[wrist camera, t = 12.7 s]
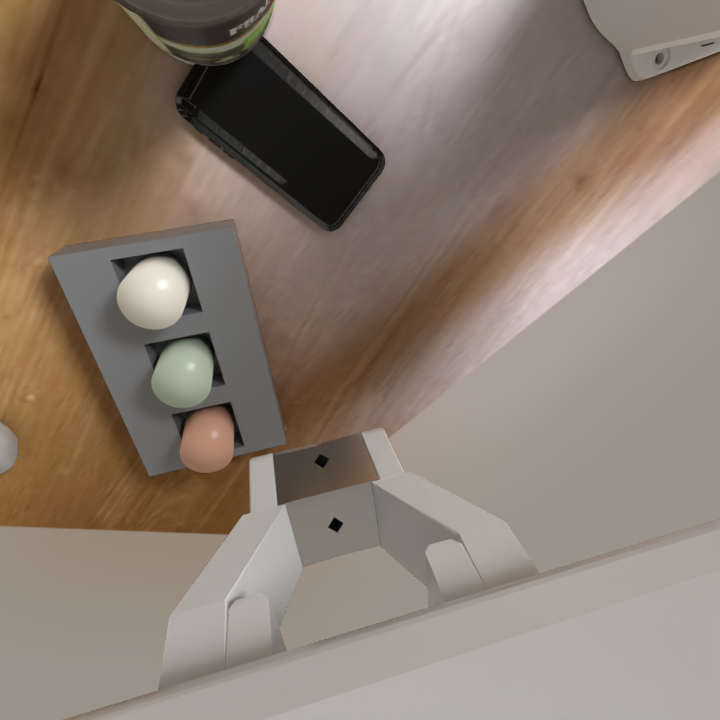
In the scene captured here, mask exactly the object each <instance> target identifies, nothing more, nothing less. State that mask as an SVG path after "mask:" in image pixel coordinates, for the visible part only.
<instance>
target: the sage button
mask: <svg viewBox="0 0 720 720" xmlns="http://www.w3.org/2000/svg"><path fill="white" fill-rule="evenodd" d="M214 362H215V353H214V349H213V347H212V346H211V344H210V343H209V342H208V341H207V340H206V339H205V338H203V337H201V336H199V335H191V336H186V337H181V338H176V339H170V340H168V341H167V342H166V343H165V345H164V346H163V349H162V352H161V354H160V357H159V360H158V362H157V365H156V368H155V370H154V373H153V376H152V380H151V385H152V389H153V392H154V394H155V395H156V396H157V398H158V399H159V400H161V401H162V402H163V403H165V404H167V405H169V406H172V407H177V408H188V407H193V406H196V405H198V404H200V403H201V402H203V401H204V400H205V399H206V398H207V396H208V395H209V393H210V391H211V385H212V377H213V370H214Z"/></svg>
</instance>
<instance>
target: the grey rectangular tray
mask: <svg viewBox="0 0 720 720" xmlns="http://www.w3.org/2000/svg"><path fill="white" fill-rule="evenodd" d="M153 253H165V254H169V255H171V256H174V257H176V258H177V259H179V260H180V261H181V262H182V263H183V264H184V265H185V266H186V267H187V269H188V271H189V273H190V275H191V280H192V286H191V290H190V293H189V296H188V299H187V302H186V305H185V308H184V311H183V314H182V315H181V317H180V318H179V320H178V321H177V322H176V323H174V324H173V325H171V326H169V327H167V328H164V329H158V330H152V329H145V328H142V327H139V326H137V325H135V324H133V323H132V322H131V321H129V320H128V319H127V318H126V317H125V316H124V315H123V313H122V312H121V310H120V308H119V306H118V303H117V290H118V287H119V285H120V283H121V282H122V281H123V279H124V278H125V277H126V276H127V274H128V273H129V272H130V271H131V270H132V268H133V267H134V266H135V265H136V263H137V262H138V261H139V260H140V259H141V258H143V257H144V256H146V255H149V254H153ZM48 259H49V261H50V263H51V266H52V268H53V270H54V272H55V274H56V276H57V278H58V281H59V283H60V285H61V287H62V289H63V291H64V294H65V296H66V298H67V300H68V302H69V304H70V306H71V309H72V311H73V313H74V315H75V317H76V319H77V322H78V324H79V326H80V328H81V330H82V332H83V334H84V337H85V339H86V341H87V343H88V345H89V347H90V350H91V352H92V354H93V356H94V358H95V360H96V362H97V365H98V367H99V369H100V371H101V373H102V375H103V378H104V380H105V382H106V384H107V386H108V388H109V390H110V393H111V395H112V397H113V399H114V401H115V403H116V406H117V408H118V410H119V412H120V414H121V416H122V418H123V421H124V423H125V425H126V427H127V429H128V431H129V434H130V436H131V438H132V440H133V442H134V444H135V446H136V449H137V451H138V453H139V455H140V457H141V459H142V462H143V464H144V466H145V468H146V470H147V472H148V474H149V477H150V476H154V475H158V474H163V473H167V472H171V471H175V470H179V469H184V468H188V467H187V466H185V465H184V463H183V462H182V460H181V458H180V447H181V442H182V437H183V432H184V427H185V422H186V417H187V414H188V412H189V411H191V410H195V409H200V408H204V407H209V406H213V405H218V404H222V403H224V404H226V405H227V406H228V407H229V408H230V409H231V410H232V411H233V414H234V417H235V424H234V453H233V457H234V456H238V455H242V454H247V453H251V452H255V451H259V450H263V449H268V448H272V447H276V446H280V445H284V444H287V443H286V435H285V428H284V422H283V418H282V414H281V410H280V406H279V402H278V398H277V393H276V389H275V385H274V381H273V377H272V373H271V369H270V365H269V361H268V357H267V353H266V349H265V345H264V341H263V337H262V333H261V329H260V325H259V321H258V317H257V312H256V308H255V304H254V300H253V296H252V292H251V288H250V284H249V280H248V276H247V272H246V268H245V264H244V260H243V256H242V252H241V248H240V244H239V240H238V236H237V231H236V227H235V223H234V219H232V220H225V221H219V222H213V223H207V224H200V225H194V226H188V227H182V228H175V229H169V230H163V231H157V232H150V233H144V234H138V235H132V236H125V237H119V238H113V239H107V240H101V241H94V242H88V243H82V244H76V245H69V246H65V247H63V248H61V249H60V250H58V251H57V252H55V253H54V254H52V255H51V256H49V257H48ZM191 335H199V336H201V337H203V338H205V339H206V340H207V341H208V342H209V343H210V344H211V346H212V347H213V349H214V353H215V362H214V370H213V377H212V385H211V391H210V393H209V395H208V396H207V398H206V399H205V400H204V401H203V402H201V403H200V404H198V405H196V406H193V407H188V408H177V407H172V406H169V405H167V404H165V403H163V402H162V401H161V400H159V399H158V398H157V396H156V395H155V394H154V392H153V389H152V385H151V380H152V376H153V373H154V370H155V368H156V365H157V362H158V360H159V357H160V354H161V352H162V349H163V346H164V345H165V343H166V342H167V341H168V340H170V339H176V338H181V337H186V336H191Z"/></svg>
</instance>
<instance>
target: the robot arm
mask: <svg viewBox="0 0 720 720" xmlns="http://www.w3.org/2000/svg"><path fill="white" fill-rule="evenodd" d="M584 3H585V6H586V9H587V11H588V14H589V16H590V18H591V20H592V22H593V23H594V25H595V26H596V28H597V29H598V30H599V32H600V33H601V34H602V35H603V36H604V37H605V38H606V39H607V40H608V41H609V42H611V43H612V44H613V45H614V46H615V47H616V49H617V50H618V51H619V53H620V56H621V59H622V62H623V64H624V67H625V70H626V72H627V74H628V76H629V77H630V78H631V79H632V80H633V81H641V80H645V79H648V78H651V77H654V76H656V75H659V74H662V73H664V72H667V71H669V70H672V69H675V68H677V67H680V66H683V65H685V64H688V63H690V62H693V61H696V60H698V59H701V58H704V57H706V56H709V55H711V54H714V53H717V52H719V51H720V0H584ZM656 56H657V61H656V63H655V58H656ZM249 505H250V513H249V514H245V515H242V517H241V518H240V519H239V521H238V522H237V524H236V525H235V526H234V528H233V529H232V531H231V532H230V533H229V535H228V536H227V538H226V539H225V540H224V542H223V543H222V545H221V546H220V547H219V549H218V550H217V552H216V553H215V554H214V556H213V557H212V558H211V560H210V561H209V563H208V564H207V565H206V567H205V568H204V569H203V571H202V572H201V574H200V575H199V577H198V578H197V579H196V581H195V582H194V583H193V585H192V586H191V587H190V589H189V590H188V592H187V593H186V594H185V596H184V597H183V599H182V600H181V602H180V603H179V604H178V606H177V607H176V608H175V610H174V611H173V613H172V614H171V615H170V618H169V625H168V631H167V637H166V643H165V651H164V656H163V662H162V669H161V675H160V682H159V688H158V691H155V692H152V693H148V694H145V695H142V696H139V697H135V698H132V699H129V700H126V701H122V702H119V703H116V704H113V705H109V706H106V707H103V708H99V709H96V710H93V711H90V712H87V713H84V714H80V715H77V716H73V717H70V718H67V719H64V720H720V518H719V519H716V520H713V521H710V522H706V523H703V524H700V525H696V526H693V527H690V528H686V529H684V530H680V531H677V532H673V533H670V534H667V535H664V536H660V537H657V538H654V539H651V540H647V541H644V542H641V543H638V544H634V545H631V546H628V547H624V548H621V549H618V550H615V551H611V552H608V553H605V554H602V555H598V556H595V557H592V558H589V559H585V560H582V561H579V562H576V563H572V564H569V565H566V566H562V567H559V568H556V569H553V570H549V571H546V572H543V573H539V571H538V570H537V568H536V567H535V565H534V564H533V562H532V561H531V559H530V558H529V556H528V555H527V554H526V552H525V550H524V549H523V547H522V546H521V544H520V543H519V541H518V540H517V539H516V537H515V535H514V534H513V532H512V531H511V529H510V528H509V526H508V525H507V523H506V522H505V521H503V520H501V519H499V518H497V517H495V516H494V515H492V514H490V513H488V512H486V511H484V510H482V509H480V508H478V507H476V506H475V505H473V504H471V503H469V502H467V501H465V500H463V499H462V498H460V497H458V496H456V495H454V494H452V493H450V492H448V491H446V490H445V489H443V488H441V487H438V486H437V485H435V484H433V483H431V482H429V481H427V480H426V479H424V478H422V477H420V476H418V475H416V474H414V473H412V472H408V473H404V471H403V469H402V467H401V464H400V462H399V460H398V458H397V456H396V454H395V452H394V450H393V448H392V445H391V443H390V441H389V439H388V437H387V435H386V433H385V431H384V429H383V428H382V427H379V428H375V429H371V430H367V431H364V432H360V433H359V434H355V435H350V436H346V437H342V438H338V439H334V440H330V441H326V442H322V443H317V444H312V445H307V446H303V447H298V448H293V449H289V450H284V451H280V452H275V453H274V454H272V453H271V454H267V455H263V456H258V457H254V458H251V459H250V461H249ZM380 545H381V548H383V549H384V550H385V551H386V552H387V553H388V554H390V555H391V556H392V557H393V558H394V559H395V560H396V561H398V562H399V563H400V564H401V565H402V566H403V567H405V568H406V569H407V570H408V571H409V572H410V573H411V574H413V575H414V576H415V577H416V578H417V579H418V580H419V581H421V582H422V583H423V584H424V585H425V586H426V587H427V591H428V608H426V609H422V610H419V611H416V612H413V613H409V614H406V615H403V616H400V617H396V618H393V619H390V620H387V621H383V622H380V623H377V624H373V625H370V626H367V627H364V628H360V629H357V630H354V631H351V632H347V633H344V634H341V635H338V636H334V637H331V638H328V639H324V640H321V641H318V642H315V643H311V644H308V645H305V646H302V647H298V648H295V649H292V650H289V651H287V649H286V646H285V644H284V641H283V638H282V635H281V632H280V629H279V627H280V625H281V622H282V620H283V617H284V615H285V613H286V610H287V608H288V605H289V603H290V600H291V598H292V596H293V593H294V590H295V588H296V586H297V583H298V581H299V578H300V576H301V573H302V571H303V568H302V567H305V566H308V565H311V564H314V563H318V562H321V561H324V560H328V559H331V558H334V557H337V556H340V555H344V554H348V553H352V552H356V551H360V550H364V549H368V548H372V547H376V546H380ZM341 553H342V554H341Z"/></svg>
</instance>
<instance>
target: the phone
mask: <svg viewBox="0 0 720 720" xmlns="http://www.w3.org/2000/svg"><path fill="white" fill-rule="evenodd" d="M176 106H177V109H178V111H179V113H180V115H181V116H182V117H183V118H184V119H186V120H187V121H188V122H189V123H191V124H192V125H193V126H194V127H195V128H196V129H197V130H198V131H199V132H201V133H203V134H204V135H206V136H207V137H208V138H209V140H210V141H212V142H213V143H214V144H215V145H217V146H218V147H219V148H220V147H221V148H222V149H223V151H224V152H225V153H226V154H228V155H229V156H230V157H231V158H235V159H236V160H237V161H238V162H240V163H241V164H242V165H243V166H245V167H246V168H247V169H248V170H250V171H251V172H252V173H253V174H255V175H256V176H257V177H259V178H260V179H261V180H262V181H264V182H265V183H266V184H267V185H269V186H270V187H271V188H272V189H274V190H275V191H276V192H277V193H279V194H280V195H281V196H282V197H284V198H285V199H286V200H287V201H289V202H290V203H291V204H292V205H294V206H295V207H296V208H298V209H299V210H300V211H301V212H303V213H304V214H305V215H306V216H308V217H309V218H310V219H311V220H313V221H314V222H315V223H316V224H318V225H319V226H320V227H321V228H323V229H325V230H327V231H334V230H336V229H338V228H339V227H340V226H341V225H342V224H343V223H344V221H345V220H346V219H347V217H348V216H349V215H350V213H351V212H352V211H353V209H354V208H355V207H356V205H357V204H358V203H359V201H360V200H361V199H362V197H363V196H364V195H365V194H366V192H367V191H368V190H369V188H370V187H371V186H372V184H373V183H374V182H375V180H376V179H377V178H378V176H379V175H380V174H381V172H382V171H383V169H384V166H385V158H384V155H383V153H382V152H381V150H380V149H379V148H378V147H377V146H376V145H375V144H374V143H373V142H371V141H370V140H369V139H368V138H367V137H366V136H365V135H364V134H363V133H362V132H361V131H360V130H359V129H358V128H357V127H356V126H355V125H354V124H353V123H352V122H351V121H350V120H349V119H348V118H347V117H346V116H345V115H344V114H343V113H342V112H341V111H339V110H338V109H337V108H336V107H335V106H334V105H333V104H332V103H331V102H330V101H329V100H328V99H327V98H326V97H325V96H324V95H323V94H322V93H321V92H320V91H319V90H318V89H317V88H316V87H315V86H314V85H313V84H312V83H311V82H310V81H309V80H308V79H306V78H305V77H304V76H303V75H302V74H301V73H300V72H299V71H298V70H297V69H296V68H295V67H294V66H293V65H292V64H291V63H290V62H289V61H288V60H287V59H286V58H285V57H284V56H283V55H282V54H281V53H280V52H279V51H278V50H277V49H276V48H275V47H273V46H272V45H271V44H270V43H269V42H268V41H267V40H266V39H265V38H264V37H263V36H262V37H261V39H260V40H259V42H258V43H257V44H256V45H255V46H254V47H253V48H252V49H251V50H250V51H249V52H248V53H247V54H245V55H244V56H242V57H241V58H239V59H237V60H235V61H233V62H231V63H228V64H222V65H200V64H194V66H193V68H192V69H191V71H190V73H189V74H188V76H187V77H186V79H185V81H184V82H183V84H182V86H181V87H180V89H179V91H178V93H177V95H176Z"/></svg>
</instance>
